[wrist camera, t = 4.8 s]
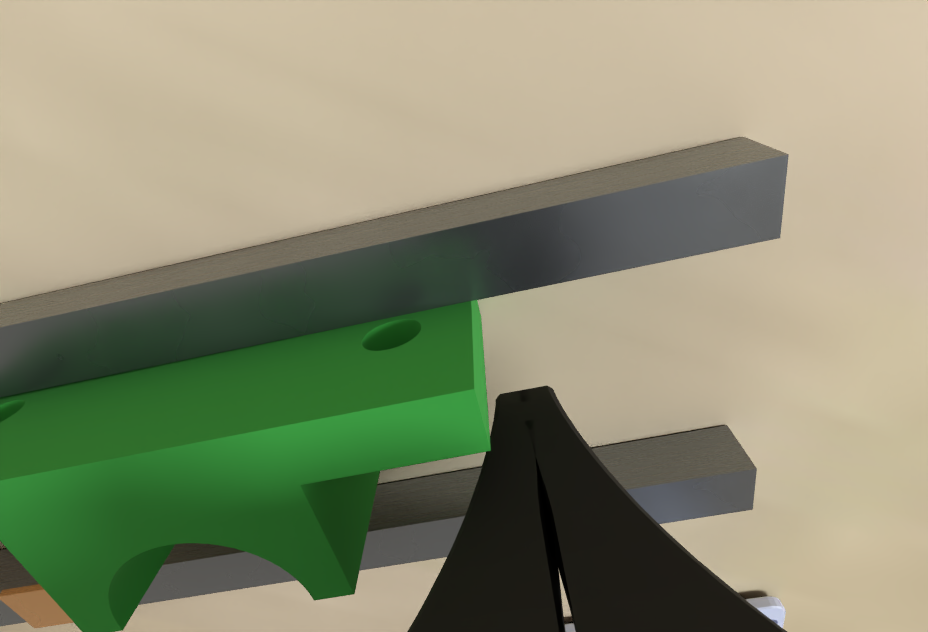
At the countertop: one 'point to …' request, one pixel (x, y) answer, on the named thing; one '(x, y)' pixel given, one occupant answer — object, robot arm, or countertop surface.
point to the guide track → (399, 293)
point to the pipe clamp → (233, 456)
